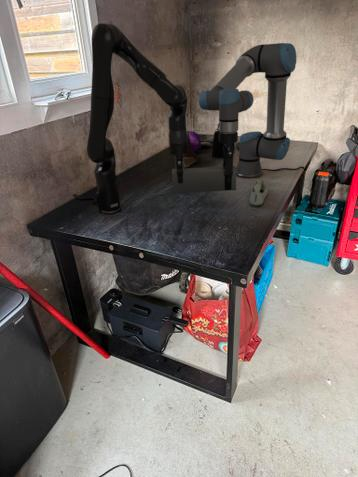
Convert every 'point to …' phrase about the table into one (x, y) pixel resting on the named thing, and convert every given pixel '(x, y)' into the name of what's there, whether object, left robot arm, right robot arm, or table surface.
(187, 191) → the bar
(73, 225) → the table surface
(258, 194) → the ballet flat
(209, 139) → the pair of gloves
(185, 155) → the boot
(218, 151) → the handbag
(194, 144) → the decorative orb
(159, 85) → the left robot arm
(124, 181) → the table surface
